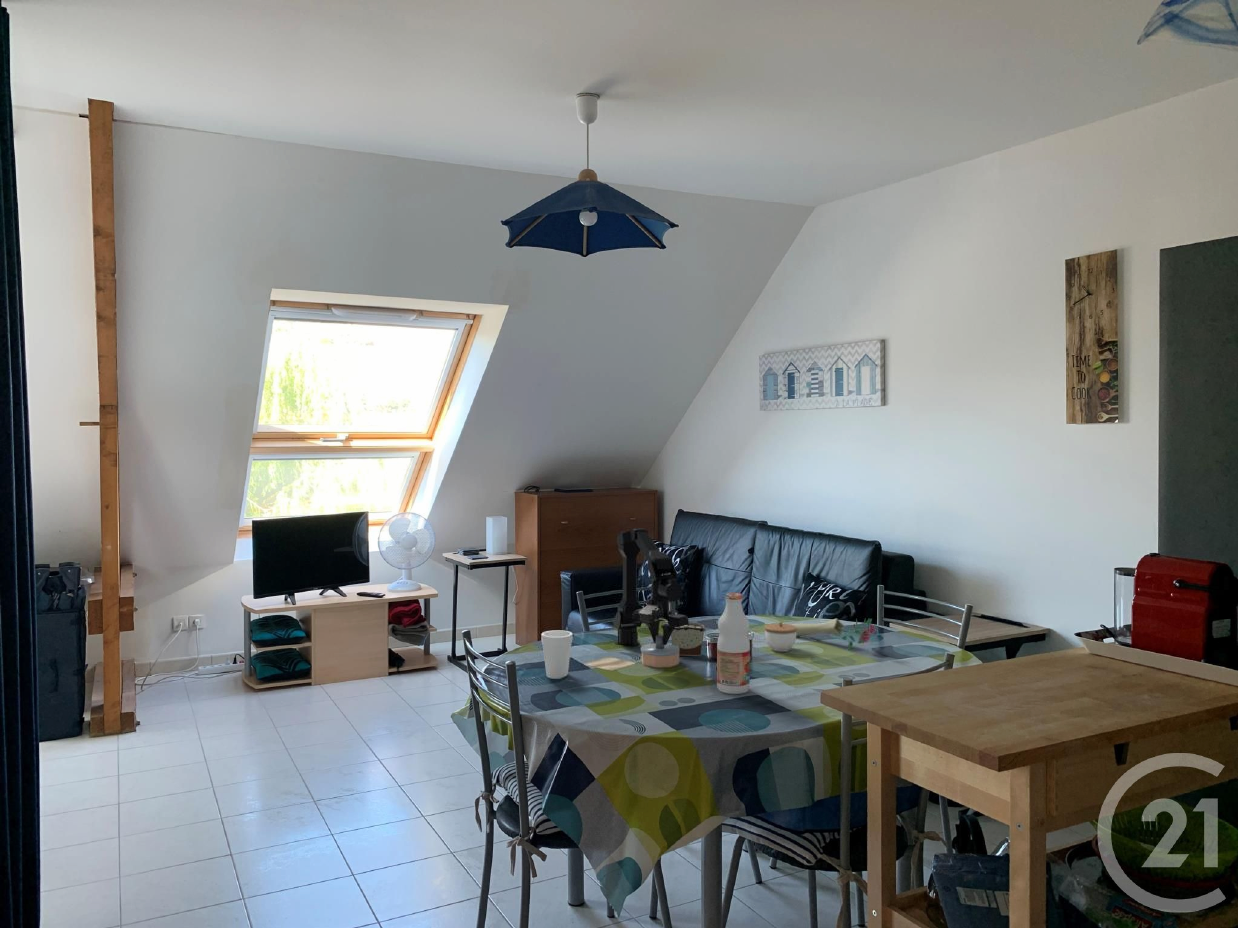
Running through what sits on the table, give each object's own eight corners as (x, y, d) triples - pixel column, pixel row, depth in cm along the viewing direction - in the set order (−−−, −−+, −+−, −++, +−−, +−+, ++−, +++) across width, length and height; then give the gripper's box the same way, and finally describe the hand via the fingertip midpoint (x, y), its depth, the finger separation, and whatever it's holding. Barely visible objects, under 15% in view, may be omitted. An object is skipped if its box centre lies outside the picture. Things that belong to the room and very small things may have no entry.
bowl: (634, 663, 297) (634, 651, 297) (657, 656, 306) (657, 644, 305) (663, 670, 289) (663, 657, 289) (685, 662, 298) (685, 650, 298)
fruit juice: (712, 686, 272) (713, 592, 271) (742, 684, 274) (743, 590, 273) (723, 695, 263) (723, 598, 261) (754, 693, 265) (755, 596, 264)
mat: (583, 665, 295) (583, 664, 295) (608, 657, 304) (608, 656, 304) (611, 672, 287) (611, 670, 287) (636, 664, 296) (636, 662, 296)
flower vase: (805, 656, 335) (888, 653, 310) (783, 651, 328) (867, 647, 302) (806, 623, 339) (888, 617, 313) (784, 618, 332) (867, 611, 306)
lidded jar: (761, 651, 313) (761, 624, 312) (768, 644, 322) (768, 617, 322) (793, 654, 309) (793, 626, 308) (799, 647, 318) (799, 620, 318)
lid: (632, 651, 297) (632, 635, 296) (656, 644, 306) (656, 629, 306) (663, 657, 289) (663, 642, 288) (687, 650, 298) (687, 635, 298)
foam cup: (577, 673, 286) (577, 631, 285) (565, 681, 277) (565, 638, 276) (548, 670, 289) (548, 629, 288) (536, 678, 280) (536, 635, 280)
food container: (705, 651, 313) (705, 622, 312) (705, 656, 307) (705, 626, 306) (669, 650, 314) (669, 621, 313) (668, 655, 308) (668, 625, 307)
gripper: (621, 595, 296) (621, 643, 297) (668, 603, 284) (667, 653, 285) (643, 590, 305) (643, 637, 306) (689, 598, 293) (689, 646, 293)
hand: (660, 643), depth 297 cm, fingers open, 4 cm apart
